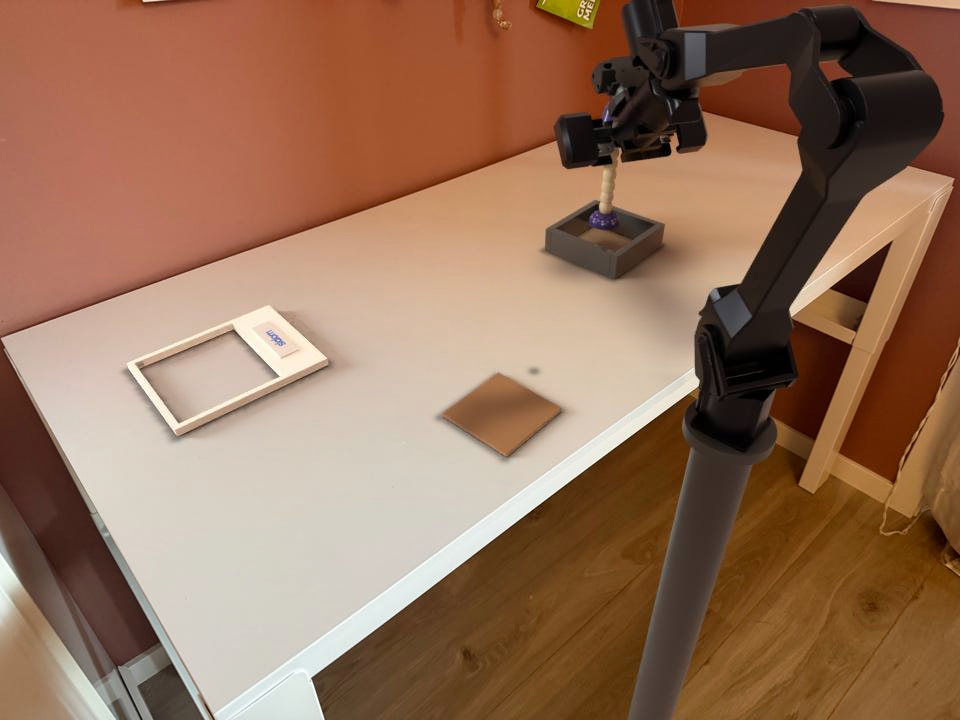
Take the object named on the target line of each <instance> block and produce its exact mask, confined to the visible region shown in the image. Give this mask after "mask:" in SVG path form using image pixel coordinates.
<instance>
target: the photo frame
mask: <svg viewBox="0 0 960 720" xmlns="http://www.w3.org/2000/svg"><path fill="white" fill-rule="evenodd" d="M233 330H234V332H235V333H237V334H238V335H239V337H241V338H242V340H243V341H245V343H246V344H248V346H249V347H250V348H251V349H252V350H253V351H254V352H255V353H256V354H257V355H258V356H259V357H260V359H262V360H263V361H264V362H265V363H266V364H267V365H268V366H269V367H270V368H271V369H272V370H273V372H274V373H276V375H277V376H278V377H276V378H274V379H272V380H270V381H268V382H265V383H263V384H260V385H259V386H256V387H254V388H252V389H250V390H249V391H245V392H243V393H241V394H240V395H238V396H236V397H234V398H231V399H228V400H227V401H224V402H222V403H220V404H218V405H216V406H214V407H212V408H210V409H207V410H205V411H202V412H201V413H198V414H196V415H194V416H192V417H190V418H188V419H186V420H184V421H182V422H180V423H179V422H178V421H177V419H176V418H175V417H174V415H173V414H172V413H171V411H170V410H169V408H168V407H167V406H166V404H165V403H164V402H163V400H162V399H161V397H160V396H159V395H158V393H157V392H156V391H155V389H154V388H153V387H152V385H151V384H150V383H149V381H148V380H147V379H146V377H145V376H144V375H143V373H142V371H141V370H140V369H142V368H145V367H146V366H149V365H152V364H154V363H156V362H159V361H161V360H163V359H166V358H168V357H171V356H173V355H176V354H177V353H181V352H183V351H186V350H187V349H190V348H192V347H194V346H197V345H200V344H202V343H204V342H207V341H209V340H211V339H214V338H217V337H219V336H221V335H224V334H226V333H228V332H231V331H233ZM126 365H127V368H128V370H129V371H130V373H131V374H132V376H133V378H135V380H136V381H137V383H138V385H139V386H140V387H141V388H142V390H143V391H144V392H145V394H146V395H147V396H148V398H149V399H150V401H151V402H152V403H153V405H154V406H155V408H156V409H157V411H158V412H159V413H160V414H161V416H162V417H163V419H164V420H165V422H166V423H167V424H168V426H169V427H170V429H171V430H172V431H173V433H174V434H175V435H176V437H180V436H182V435H184V434H186V433H187V432H190V431H192V430H194V429H196V428H199V427H201V426H202V425H204V424H207V423H209V422H211V421H213V420H215V419H217V418H220V417H222V416H223V415H225V414H227V413H230V412H232V411H234V410H236V409H239V408H240V407H242V406H244V405H247V404H249V403H251V402H254V401H255V400H257V399H259V398H261V397H263V396H265V395H268V394H270V393H272V392H274V391H276V390H278V389H281V388H283V387H285V386H287V385H289V384H291V383H293V382H295V381H297V380H299V379H302V378H304V377H306V376H308V375H310V374H313V373H314V372H316V371H318V370H320V369H324V367H326V366H328V365H329V360H328V357H326V356H325V355H324V354H323V353H322V352H321V351H320V350H319V349H318V348H317V347H315V346H314V345H313V343H311V342H310V341H309V340H308V339H307V338H306V337H305V336H304V335H303V334H301V332H299V331H298V330H297V329H296V328H295V327H294V326H292V324H291V323H289V321H288V320H287V319H285V318H284V317H283V316H282V315H281V314H280V313H279V312H278V311H276V309H274V308H273V307H272V306H271V305H270V304H268V305H265V306H262V307H260V308H258V309H256V310H253V311H250V312H248V313H246V314H243V315H240V316H238V317H236V318H233V319H231V320H228V321H226V322H223V323H221V324H219V325H217V326H213V327H211V328H209V329H206V330H204V331H202V332H199V333H197V334H194V335H192V336H190V337H187V338H184V339H182V340H180V341H177V342H175V343H172V344H170V345H168V346H167V345H166V346H165V347H163V348H160V349H158V350H157V349H156V350H155V351H153V352H150V353H147V354H145V355H143V356H140V357H137V358H136V359H134V360H131V361H129V362H126Z"/></svg>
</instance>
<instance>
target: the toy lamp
mask: <svg viewBox="0 0 960 720" xmlns="http://www.w3.org/2000/svg"><path fill="white" fill-rule="evenodd" d="M610 103H611V101H609V102H607V104H606V105H605V107H604V109H603V112H602V115H601V118H602V120H603V122H604V121H612V120H614V118H613V116H612V117H610V116H609V113H608V108H607V107H608V106H609V104H610ZM613 142H614V141H613ZM619 155H620V148H618V149H614V152H613V153H612V154H611V158H612V162H613V164H611V165H604V166H603V167H604V169H603V172H602V179H603V180H602V182H601V192H600V196H599V197H600V198H599V199H600V201H601V202H600V205H599V210H597V211H595V212H594V213H593V214H592V215H591V216H590V219H589V224H590V226H591V227H590V228H593V229H595V230H600V231H611V230H612V229H615V228H617V227H618V226H619V218H618V216H617V214H616V213H615V212H613V211H612V206H613V201H614V191H615V188H616V183H615V182H616V181H615V180H616V178H617V168H618V163H619V162H618V161H619V160H618V157H620V156H619Z"/></svg>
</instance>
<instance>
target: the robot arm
mask: <svg viewBox="0 0 960 720" xmlns="http://www.w3.org/2000/svg"><path fill="white" fill-rule="evenodd" d="M620 19H621V24H622V27H623V32H624V36H625V39H626V45H627V48H628V52H629V55H624V56H623V55H622V56H614V57H610V58H609V59H608V60H602V61H601V62H598V63H597V64H596V65H595V67H593V69H592V72H591V76H590V82H591V85H592V87H593V89H594V91H595V93H596V95H603V94H605V95H606V96H608V97H609V98H608V99H609V100H610V102H611V103H610V104H609V106H608V107H607V108H608V113H609V116H610V117H612V116H613V118H614V120H612V121H604V122H603V120H602V117H600V118H594V119H593V118H592V115H591V114H590V113H589V112H588V111H581V112H580V111H579V112H573V113H563V114H560V115H559V117H558V118H557V120H556V121H555V123H554V125H553V130H554V134H555V135H554V136H555V140H556V144H557V149H558V152H559V157H560V162H561V166H562V167H563V168H565V169H566V170H574V169H580V168H588V167H590V166H591V167H593V168H597V167H604V165H611V164H613V162H612V158H611V154H612V153H613V152H614V149H618V148H619V149H620V150H621V153H620V154H619V155H620V156H619V158H620V161H621V163H622V164H626V163H632V162H639V161H646V160H653V159H654V160H655V159H661V158H667V157H670V156H671V155H672V151H673V150H672V146H671V142H672V138H674V137H675V135H676V138H677V142H678V145H677V146H676V147H675V150H676V153H678V154H679V155H682V154H690V153H698V152H699V151H700V150H702V148H703V147H705V146H706V144H707V142H708V137H709V132H708V129H707V125H706V121H705V117H704V113H703V108H702V105H701V103H700V98H699V94H700V88H705V87H713V86H722V85H724V84H727V83H729V82H732V81H735V80H736V79H738V78H740V77H741V76H742V74H743V73H744V72H746V71H749V70H754V69H763V68H771V67H777V66H778V67H779V66H785V65H786V67H787V68H788V70H789V72H790V81H789V90H788V98H787V99H788V100H787V103H788V106H789V107H790V109H791V111H792V112H793V114H794V116H795V118H796V119H797V121H798V123H799V124H800V126H801V127H800V132H799V134H798V137H797V140H796V144H797V150H798V155H799V160H800V166H801V172H800V175H799V177H798V178H797V180H796V182H795V184H794V185H793V188H792V190H791V192H790V193H789V194H788V197H787V199H786V200H785V202H784V204H783V206H782V207H781V210H780V211H779V213H778V215H777V216H776V218H775V221H773V224H772V226H771V228H770V229H769V232H768V233H767V235H766V237H765V239H764V240H763V242H762V244H761V245H760V247H759V250H758V251H757V253H756V255H755V257H754V259H753V260H752V262H751V264H750V266H749V268H748V269H747V271H746V273H745V275H744V277H742V278H743V279H742V280H741V282H740V283H735V284H729V285H728V284H727V285H723V286H717V287H713V289H711V291H710V292H709V294H708V296H707V299H706V301H705V304H704V306H703V307H702V309H701V310H698V316H700V319H699V320H698V322H697V325H696V329H695V331H694V335H693V336H694V337H693V338H694V339H693V340H694V341H693V342H694V343H693V344H694V345H693V347H694V352H693V354H694V355H693V356H694V375H695V377H696V378H697V379H698V381H699V382H698V386H697V388H698V390H699V391H698V394H697V398H696V399H697V403H696V407H695V411H696V412H698V414H697V415H696V416H695V417H694V418H693V419H692V420H691V422H690V426H691V427H693V428H695V429H697V430H699V431H700V432H702V433H704V434H706V435H708V436H710V437H712V438H714V439H716V440H718V441H720V442H722V443H724V444H726V445H728V446H730V447H732V448H734V449H736V450H738V451H739V452H742V453H745V452H747V451H748V449H749V448H750V447H751V446H752V445H753V444H754V442H755V441H756V440H757V439H758V438H759V437H760V435H761V434H762V433H763V432H764V431H765V429H766V428H767V427H768V426H769V425H770V423H771V418H770V417H768V414H769V415H770V411H771V409H772V408H771V407H772V405H773V401H774V399H775V395H776V393H777V389H781V388H791V387H792V386H793V385H794V384H795V383H796V382H797V381H798V379H799V377H800V374H799V369H798V367H797V363H796V362H797V361H796V358H795V355H794V351H793V346H792V343H791V339H790V337H791V335H792V333H793V331H794V328H795V326H794V322H793V318H792V314H791V311H790V308H791V307H792V306H793V304H794V302H795V300H796V299H797V297H799V295H800V293H801V292H802V290H803V289H804V287H805V285H806V284H807V283H808V281H809V280H810V279H811V277H812V275H813V274H814V272H815V270H816V269H817V268H818V266H819V265H820V263H821V262H822V260H823V259H824V257H825V255H827V253H828V251H829V250H830V249H831V246H832V245H833V243H834V241H835V240H836V239H837V237H838V236H839V234H840V233H841V231H842V230H843V228H844V227H845V226H846V224H847V222H848V221H849V220H850V218H851V216H852V215H853V213H854V212H855V211H856V209H857V207H858V206H859V204H860V203H861V201H862V200H863V199H864V197H866V196H867V195H868V194H869V193H870V192H873V191H874V190H875V189H877V188H879V187H880V186H882V184H884V183H886V182H887V181H889V180H891V179H892V178H894V177H895V176H897V175H898V174H900V173H901V172H903V171H904V170H905V169H906V168H907V169H908V167H909V166H910V165H911V164H912V163H913V162H914V161H915V160H916V158H917V157H918V156H919V155H920V154H922V153H923V151H924V150H926V148H927V147H928V146H929V145H931V143H932V142H933V141H934V140H935V138H937V136H938V134H939V132H940V130H941V128H942V126H943V124H944V119H945V115H946V114H945V112H944V103H943V102H944V101H943V98H942V95H941V92H940V89H939V86H938V84H937V82H936V81H935V79H934V78H933V76H931V75H930V74H928V73H926V70H924V68H923V67H922V66H921V64H920V63H919V61H918V60H917V59H916V57H915V55H913V54H912V53H911V52H910V51H909V50H907V49H906V48H904V47H903V46H901V45H900V44H898V43H896V42H895V41H893V40H892V39H891V38H889V37H887V36H886V35H885V34H882V32H880V31H878V30H876V29H875V28H874V27H873V26H872V25H871V24H870V22H869V21H868V20H867V18H866V16H865V15H864V14H863V12H862V11H861V10H860V9H858V8H857V7H854V6H851V5H850V4H847V3H846V4H845V3H841V4H840V3H839V4H830V5H820V6H809V7H801V8H798V9H797V10H796V11H794V12H792V13H790V14H789V13H788V14H785V15H782V16H776V17H773V18H768V19H764V20H759V21H755V22H751V23H747V24H742V25H740V24H733V23H724V22H723V23H714V24H704V25H702V24H701V25H693V26H683V27H680V23H679V20H678V15H677V12H676V7H675V3H674V0H630V1H629V2H627V3H625V4H624V5H623V6H622V7H621V10H620ZM833 62H836V63H837V64H838V65H839V67H840V68H841V69H842V70H843V71H844V72H846V73H847V74H849V75H850V76H845V77H839V78H835V79H833V80H830V81H829V79H828V77H827V76H826V74H825V73H824V71H823V70H822V68H821V66H820V64H826V63H833ZM613 141H614V142H613ZM694 423H695V424H694Z"/></svg>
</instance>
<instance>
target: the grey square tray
mask: <svg viewBox="0 0 960 720" xmlns="http://www.w3.org/2000/svg"><path fill="white" fill-rule="evenodd" d="M600 202H601V200H598V199H594V200H592V201H590V202H588V203H587V204H585V205H584V206H582V207H580V208H579V209H577V210H575V211H574V212H572V213H570V214H568V215H566V216H565V217H563V218H562V219H561V218H560V220H558V221H557V222H554V223H553V224H552V225H551V224H550V225H549V226H548V227H546V228H545V236H544V252H547V253H550V254H552V255H555V256H557V257H559V258H562V259H564V260H568V261H569V262H572V263H574V264H577V265H579V266H581V267H583V268H585V269H588V270H590V271H593V272H596V273H598V274H600V275H602V276H605V277H608V278H610V279H613V280H616V279H618V278H619V277H620V276H622V275H623V274H625V273H626V272H627V271H628V270H630V269H631V268H633V267H634V266H635V265H637V264H638V263H640V262H642V261H643V260H644V259H645V258H647V257H648V256H649V255H651V254H652V253H654V252H656V251H657V250H658V249H660V248H661V247H662V246H663V240H664V234H665V227H666V224H665V223H663V222H661V221H658V220H654V219H651V218H648V217H646V216H643V215H641V214H638V213H634V212H631V211H629V210H626V209H623V208H621V207H620V208H619V206H618V207H617V206H614V205H612V211H613V212H615V213H616V214H617V216H618V218H619V226H618V227H617V228H615V229H612V230H610V231H611V232H613V233H616V234H619V235H622V236H624V237H627V238H630V239H632V240H631V241H629V242H628V243H626V244H625V245H623V246H622V247H620V248H618V249H617V250H616V251H614V250H612V249H609V248H606V247H604V246H601V245H599V244H597V243H594V242H592V241H588V240H586V239H585V238H581V237H580V236H579V235H581V234H583V233H584V232H586V231H588V230H589V229H591V228H592V227H591V226H590V224H589V219H590V216H591V215H592V214H593V213H594V212H595V211H597V210H599V205H600Z"/></svg>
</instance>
